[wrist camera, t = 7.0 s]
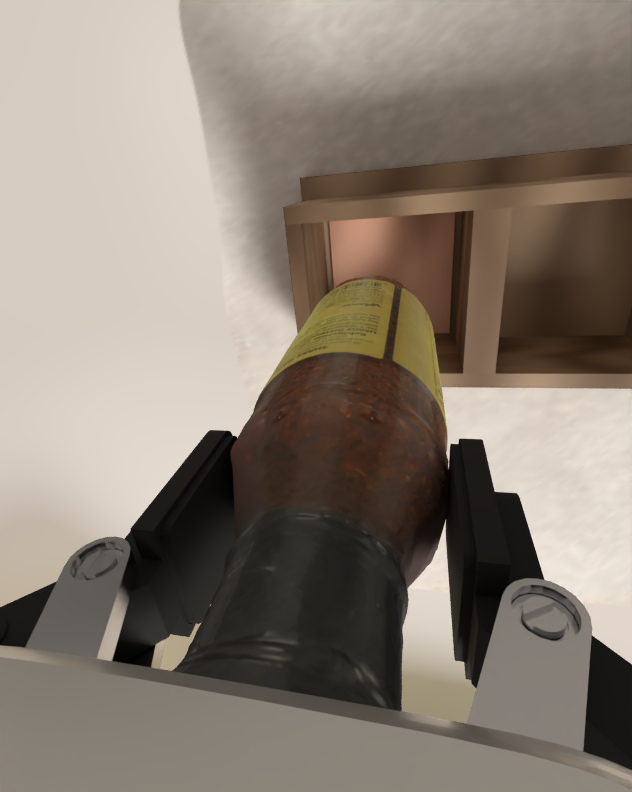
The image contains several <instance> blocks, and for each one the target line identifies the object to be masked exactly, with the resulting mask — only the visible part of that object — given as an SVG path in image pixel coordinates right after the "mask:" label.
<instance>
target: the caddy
mask: <svg viewBox="0 0 632 792" xmlns="http://www.w3.org/2000/svg"><path fill="white" fill-rule="evenodd" d="M300 184H301V194H302V202H300V203H296V204H293V205H290V206H286V207H283V210H284V218H285V227H286V236H287V245H288V253H289V262H290V271H291V280H292V288H293V297H294V306H295V315H296V323H297V332H298V333H299V332H300V330H301V329H302V327H303V326H304V324H305V323H306V321H307V319H308V318H309V316H310V315H311V313H312V312H313V310H314V308H315V307H316V305H317V304H318V303H319V302H320V301H321V300H322V299H323V298H324V297H325V296H326V295H327V294H328V293H329V292H331V291H332V290H333V289H335V288H336V287H337V286H338V285H339V284H340V283H342V282H344V281H346V280H349V279H354V278H359V277H366V276H370V275H372V276H383V277H388V278H392V279H395V280H396V281H398V282H400V283H401V284H402V285H403V286H404V287H406V288H408V289H409V290H410V291H411V292H412V293H413V294H414V295H415V296H416V297H417V298H418V299H419V301H420V303H421V304H422V305H423V307H424V308H425V309H426V310H427V311H428V315H429V318H430V321H431V323H432V327H433V332H434V338H435V345H436V352H437V360H438V367H439V374H440V381H441V387H497V388H619V389H632V144H629V145H619V146H610V147H600V148H590V149H580V150H571V151H561V152H551V153H541V154H531V155H522V156H512V157H502V158H492V159H482V160H473V161H463V162H453V163H443V164H433V165H424V166H414V167H404V168H394V169H384V170H375V171H365V172H355V173H345V174H336V175H326V176H316V177H306V178H300Z"/></svg>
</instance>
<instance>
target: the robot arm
mask: <svg viewBox="0 0 632 792" xmlns="http://www.w3.org/2000/svg"><path fill="white" fill-rule="evenodd" d="M236 440H237V437H236V436H232V434H231V432H230V431H216V430H215V431H214V430H210V431H209V432H208V433H207V434H206V435H205V436H204V437H203V439H202V440H201V441H200V443H199V444H198V445H197V446H196V448H195V449H194V450H193V451H192V453H191V454H190V455H189V456H188V458H187V459H186V460H185V461H184V463H183V464H182V465H181V466H180V468H179V469H178V470H177V471H176V473H175V474H174V475H173V476H172V478H171V479H170V480H169V481H168V483H167V484H166V485H165V486H164V488H163V489H162V490H161V492H160V493H159V494H158V495H157V496H156V498H155V499H154V500H153V502H152V503H151V504H150V505H149V506H148V508H147V509H146V510H145V511H144V513H143V514H142V515H141V516H140V518H139V519H138V520H137V521H136V523H135V524H134V525H133V526H132V528H131V531H130V533H129V534H128V535H127V536H126V538H125V539H123V538H119V537H105V538H102V539H98V540H95V541H93V542H91V543H89V544H87V545H85V546H84V547H82V548H81V549H79V550H78V551H76V552H75V553H74V554H73V555H72V556H71V557H70V558H69V560H68V561H67V563H66V565H65V566H64V568H63V570H62V572H61V574H60V576H59V578H58V580H57V582H55V583H53V584H50V585H48V586H46V587H44V588H42V589H39V590H37V591H35V592H33V593H31V594H28V595H26V596H24V597H22V598H20V599H18V600H15V601H13V602H11V603H9V604H7V605H4V606H2V607H0V792H632V664H630V663H629V662H627V661H626V660H625V659H623V658H622V657H621V656H619V655H618V654H617V653H615V652H614V651H612V650H611V649H610V648H608V647H607V646H606V645H604V644H603V643H602V642H600V641H599V640H597V639H596V638H595V637H593V636H592V625H591V619H590V616H589V614H588V612H587V610H586V608H585V607H584V605H583V604H582V603H581V602H580V601H579V600H578V599H577V597H576V596H575V595H573V594H572V593H570V592H569V591H568V590H566V589H565V588H563V587H561V586H559V585H557V584H555V583H552V582H550V581H546V580H544V577H543V574H542V571H541V567H540V564H539V561H538V557H537V554H536V551H535V547H534V544H533V541H532V537H531V534H530V531H529V527H528V524H527V521H526V518H525V514H524V511H523V508H522V504H521V501H520V498H519V496H518V494H517V493H503V492H494V487H493V483H492V479H491V474H490V470H489V466H488V461H487V457H486V452H485V448H484V444H483V440H482V439H459V444H451V446H450V461H449V509H448V513H447V517H446V544H447V558H448V573H449V587H450V601H451V615H452V629H453V644H454V656H455V660H456V661H462V662H464V663H465V673H466V679H469V680H471V682H472V684H473V685H474V686H475V687H476V688H477V689H476V692H475V696H474V700H473V703H472V707H471V711H470V714H469V718H468V722H467V724H464V723H460V722H455V721H450V720H445V719H439V718H434V717H429V716H424V715H418V714H412V713H407V712H402V711H396V710H390V709H385V708H379V707H374V706H368V705H363V704H357V703H351V702H346V701H340V700H335V699H329V698H323V697H318V696H312V695H307V694H301V693H295V692H289V691H284V690H278V689H272V688H266V687H261V686H255V685H249V684H243V683H238V682H232V681H226V680H220V679H215V678H209V677H203V676H197V675H191V674H185V673H180V672H174V671H168V670H162V669H160V667H161V661H162V655H163V650H164V644H165V643H164V642H165V639H166V638H168V637H169V636H170V634H173V635H180V636H186V637H190V635H191V633H192V631H193V629H194V626H195V624H196V623H197V624H199V623H201V622H202V621H203V619H204V617H205V615H206V613H207V610H208V608H209V607H210V605H211V603H212V599H213V596H214V594H215V592H216V590H217V587H218V585H219V583H220V581H221V580H222V578H223V577H224V565H225V559H226V557H227V554H228V552H229V550H230V549H231V547H232V546H233V544H234V542H235V524H234V487H233V468H232V463H231V455H230V451H231V448H232V446H233V445H234V443H235V441H236Z"/></svg>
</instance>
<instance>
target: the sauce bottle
mask: <svg viewBox="0 0 632 792" xmlns="http://www.w3.org/2000/svg"><path fill="white" fill-rule="evenodd" d="M447 440H448V439H447V426H446V419H445V411H444V403H443V395H442V388H441V381H440V374H439V367H438V360H437V352H436V345H435V338H434V332H433V327H432V323H431V321H430V318H429V315H428V311H427V310H426V309H425V308H424V307H423V305H422V304H421V303H420V301H419V299H418V298H417V297H416V296H415V295H414V294H413V293H412V292H411V291H410V290H409V289H408V288H406V287H404V286H403V285H402V284H401V283H400V282H398V281H396V280H395V279H392V278H388V277H383V276H372V275H370V276H366V277H359V278H354V279H349V280H346V281H344V282H342V283H340V284H339V285H338V286H337V287H336V288H335V289H333V290H332V291H331V292H329V293H328V294H327V295H326V296H325V297H324V298H323V299H322V300H321V301H320V302H319V303H318V304H317V305H316V307H315V308H314V310H313V312H312V313H311V315H310V316H309V318H308V319H307V321H306V323H305V324H304V326H303V327H302V329H301V330H300V332H299V333H298V334H297V336H296V338H295V339H294V341H293V342H292V344H291V346H290V347H289V349H288V350H287V352H286V353H285V355H284V357H283V358H282V360H281V361H280V363H279V365H278V366H277V368H276V370H275V371H274V373H273V375H272V376H271V378H270V379H269V381H268V383H267V384H266V386H265V387H264V389H263V391H262V392H261V394H260V396H259V398H258V400H257V403H256V405H255V408H254V412H253V414H252V415H251V417H250V419H249V420H248V422H247V423H246V424H245V426H244V428H243V430H242V432H241V433H240V435H239V437H238V439H237V440H236V441H235V443H234V445H233V446H232V448H231V451H230V455H231V463H232V468H233V487H234V524H235V542H234V544H233V546H232V547H231V549H230V550H229V552H228V554H227V557H226V559H225V565H224V577H223V578H222V580H221V581H220V583H219V585H218V587H217V590H216V592H215V594H214V596H213V599H212V603H211V606H210V607H209V608H208V610H207V613H206V615H205V617H204V619H203V621H202V623H201V625H200V626H199V628H198V630H197V632H196V635H195V637H194V639H193V641H192V643H191V644H190V646H189V648H188V651H187V654H186V656H185V658H184V659H183V660H182V662H181V663H180V664H179V665H178V666H177V668H175V669H174V670H173V671H174V672H180V673H185V674H191V675H197V676H203V677H209V678H215V679H220V680H226V681H232V682H238V683H243V684H249V685H255V686H261V687H266V688H272V689H278V690H284V691H289V692H295V693H301V694H307V695H312V696H318V697H323V698H329V699H335V700H340V701H346V702H351V703H357V704H363V705H368V706H374V707H379V708H385V709H390V710H396V711H401V710H402V707H401V696H402V674H401V673H402V648H403V634H402V627H403V624H404V620H405V617H406V613H407V607H408V591H407V588H408V587H409V586H410V585H411V584H412V583H413V582H414V581H415V580H416V578H417V577H418V576H419V575H420V574H421V573H422V572H423V571H424V569H425V568H426V566H428V565H429V564H430V563H431V561H432V559H433V557H434V554H435V551H436V550H437V548H438V544H439V541H440V537H441V534H442V530H443V527H444V523H445V520H446V517H447V513H448V509H449V468H448V459H447V455H446V452H447Z"/></svg>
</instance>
